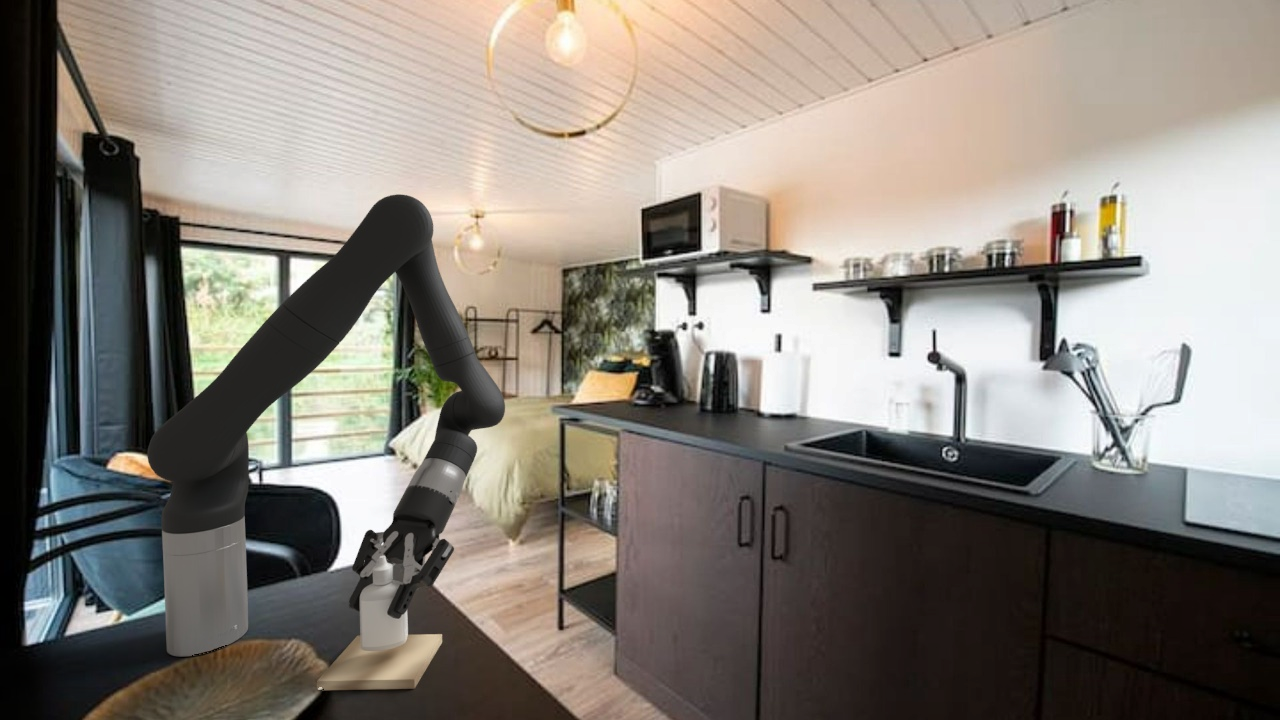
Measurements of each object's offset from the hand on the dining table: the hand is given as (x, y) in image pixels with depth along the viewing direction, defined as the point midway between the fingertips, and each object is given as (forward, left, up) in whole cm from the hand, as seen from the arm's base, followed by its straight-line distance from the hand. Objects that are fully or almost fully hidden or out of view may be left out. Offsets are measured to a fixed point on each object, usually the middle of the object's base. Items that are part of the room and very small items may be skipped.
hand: (374, 612), depth 69 cm
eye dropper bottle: (-1, +2, -5) cm, 6 cm away
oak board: (0, +2, -8) cm, 8 cm away
